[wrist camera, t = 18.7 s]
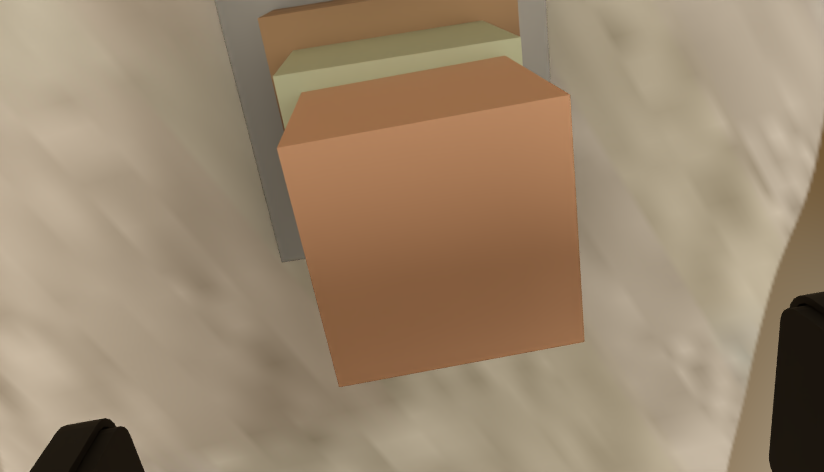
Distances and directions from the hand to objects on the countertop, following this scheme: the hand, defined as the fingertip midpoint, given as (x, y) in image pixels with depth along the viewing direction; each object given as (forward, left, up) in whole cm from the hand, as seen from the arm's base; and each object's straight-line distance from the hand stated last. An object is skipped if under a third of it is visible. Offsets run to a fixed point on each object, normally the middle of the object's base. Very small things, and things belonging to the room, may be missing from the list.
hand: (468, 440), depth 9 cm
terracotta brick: (+1, 0, -8) cm, 8 cm away
